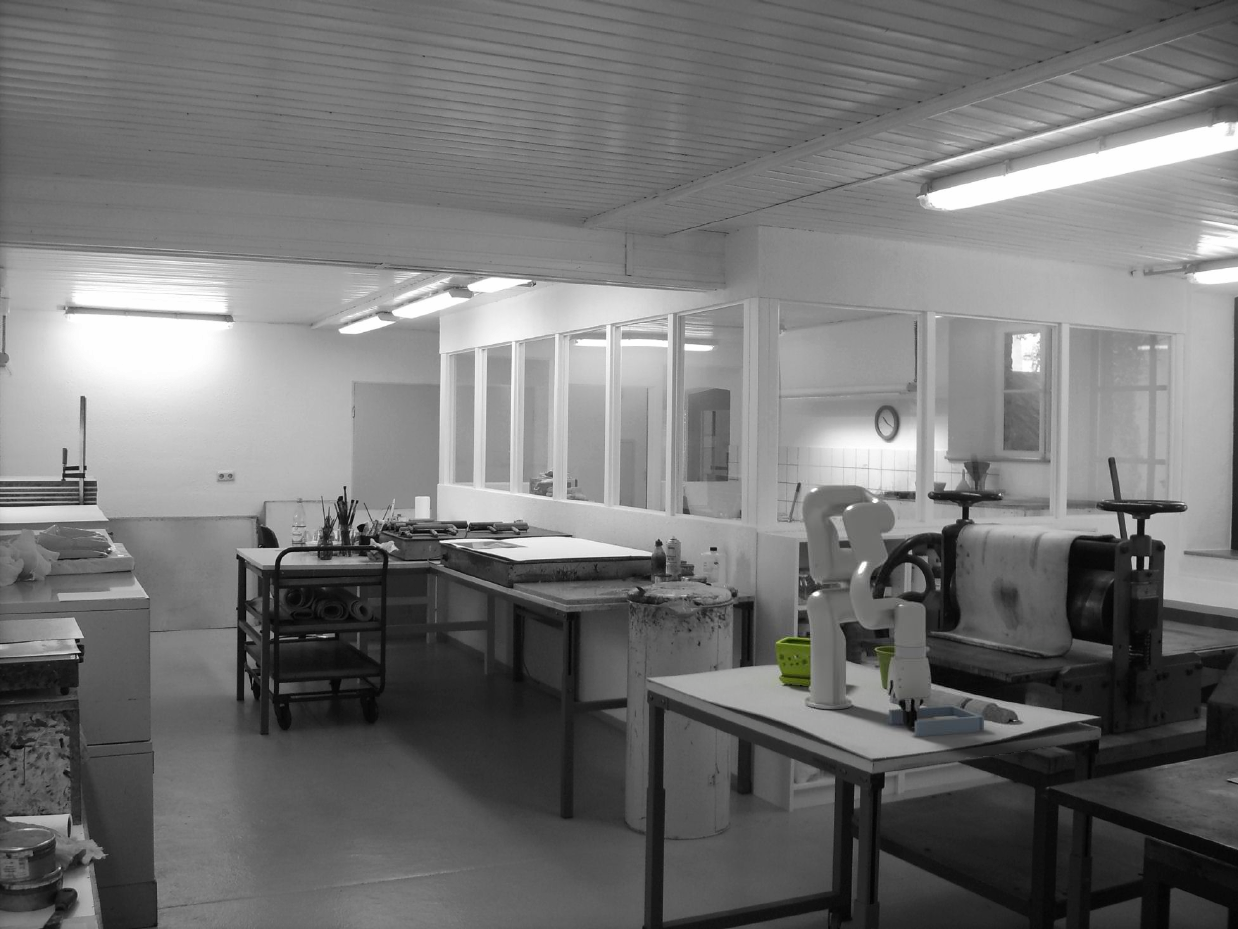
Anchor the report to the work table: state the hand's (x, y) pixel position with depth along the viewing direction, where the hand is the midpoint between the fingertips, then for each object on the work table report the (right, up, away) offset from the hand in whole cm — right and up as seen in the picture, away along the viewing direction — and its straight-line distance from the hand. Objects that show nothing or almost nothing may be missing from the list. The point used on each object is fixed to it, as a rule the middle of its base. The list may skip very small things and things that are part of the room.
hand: (909, 726), depth 265 cm
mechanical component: (+19, -2, +20) cm, 28 cm away
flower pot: (-17, -1, +55) cm, 58 cm away
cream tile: (+10, -1, +2) cm, 11 cm away
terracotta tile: (+5, -1, 0) cm, 5 cm away
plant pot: (+9, -1, +48) cm, 49 cm away
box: (+7, -1, +2) cm, 7 cm away
